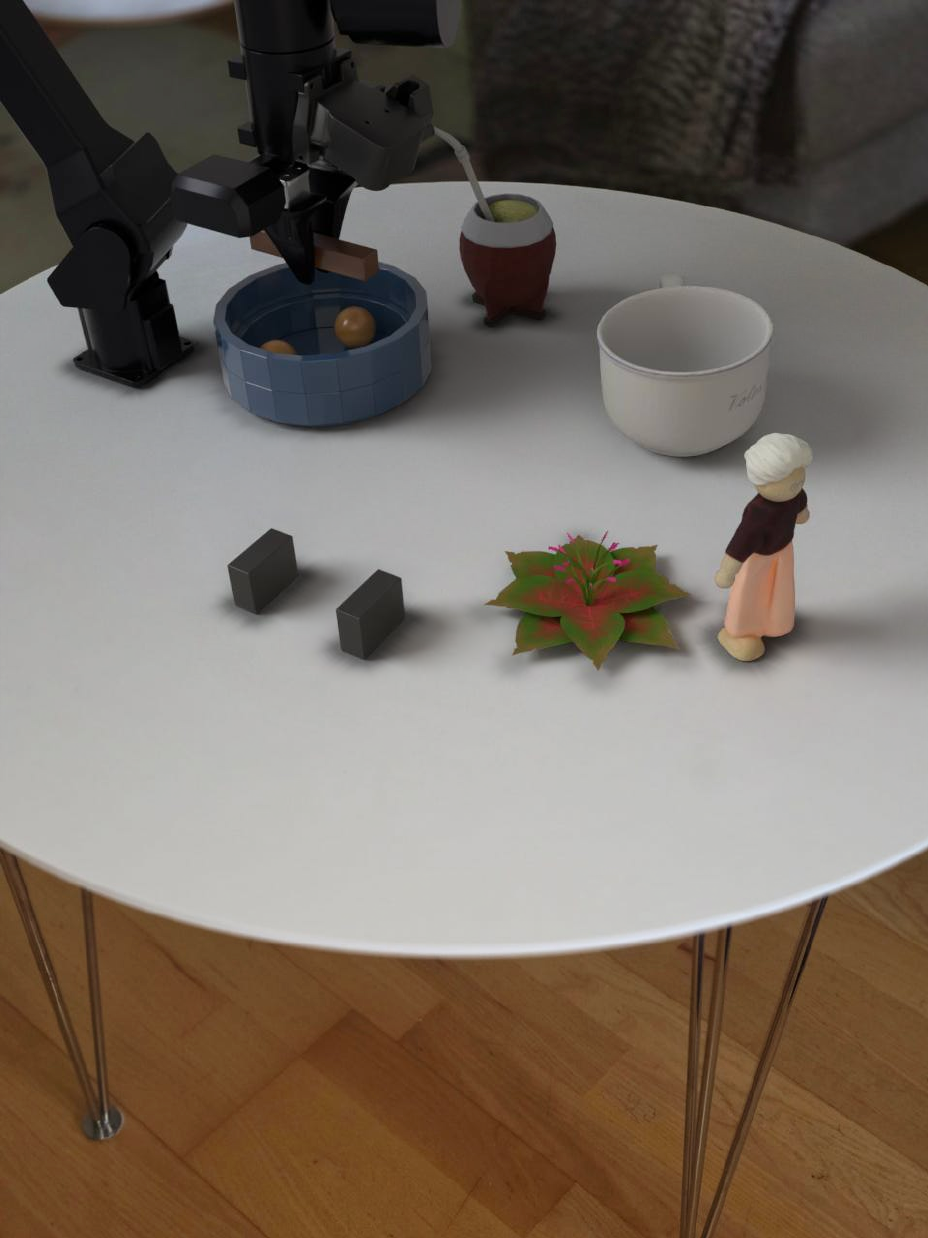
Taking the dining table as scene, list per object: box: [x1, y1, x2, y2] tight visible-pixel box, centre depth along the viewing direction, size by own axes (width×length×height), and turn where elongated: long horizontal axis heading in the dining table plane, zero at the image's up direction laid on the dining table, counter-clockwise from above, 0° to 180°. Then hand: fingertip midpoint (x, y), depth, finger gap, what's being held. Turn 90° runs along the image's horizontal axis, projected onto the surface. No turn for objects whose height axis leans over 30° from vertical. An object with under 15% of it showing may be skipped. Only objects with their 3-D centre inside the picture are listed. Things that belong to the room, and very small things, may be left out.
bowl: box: [212, 261, 433, 428], centre depth 95 cm, size 15×15×6 cm
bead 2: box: [334, 306, 376, 349], centre depth 98 cm, size 3×3×3 cm
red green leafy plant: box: [483, 530, 692, 673], centre depth 76 cm, size 12×12×5 cm
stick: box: [249, 230, 379, 281], centre depth 91 cm, size 10×2×2 cm, turn 57°
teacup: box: [596, 272, 774, 458], centre depth 89 cm, size 14×11×8 cm
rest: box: [226, 527, 406, 660], centre depth 77 cm, size 9×4×3 cm, turn 57°
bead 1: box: [260, 340, 297, 355], centre depth 95 cm, size 3×3×3 cm
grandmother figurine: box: [714, 432, 814, 662], centre depth 71 cm, size 8×4×13 cm, turn 148°
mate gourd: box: [433, 125, 557, 328], centre depth 98 cm, size 8×8×15 cm
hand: (315, 277), depth 92 cm, fingers closed on stick, 2 cm apart
